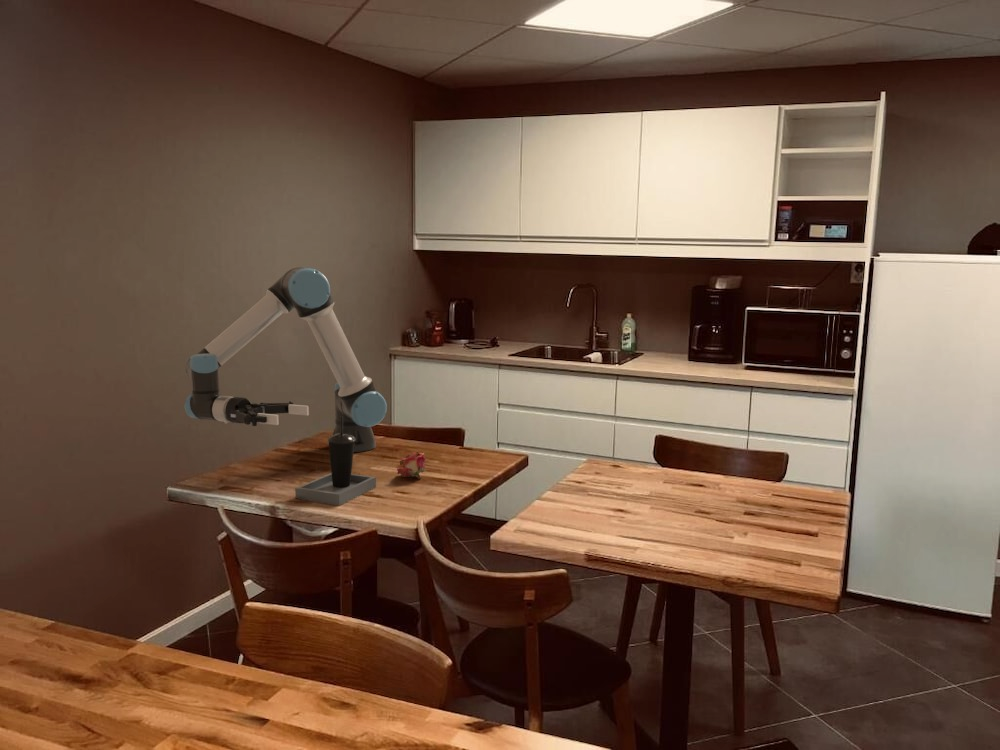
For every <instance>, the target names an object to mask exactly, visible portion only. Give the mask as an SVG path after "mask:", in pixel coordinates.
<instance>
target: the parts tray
mask: <svg viewBox="0 0 1000 750" xmlns="http://www.w3.org/2000/svg"><path fill="white" fill-rule="evenodd" d="M376 477H377V476H371V475H363V474H355V473H351V481H350V486H348V487H344V488H338V487H334V486H333V483H332V472H330V473H328V474H325V475H323V476H320V477H318V478H316V479H314V480H312V481H311V480H310V481H309V482H307V483H303V484H302V485H299V486H297V487H295V488H294V491H295V499H296V498H298V499H297V500H300V499H303V500H302V501H306V500H309V501H308V502H313V501H316V502H315V503H319V502H320V504H326V503H327V504H328V505H331V506H333V505H334V506H341V505H344V504H345V503H347V502H350V501H351V500H353V499H356V498H357V496H358V497H359V496H362V495H364V494H366V493H368V492H369V490H370V491H372V490H374V489H376V488H377V478H376ZM375 487H376V488H375ZM373 488H374V489H373ZM371 489H372V490H371ZM367 491H368V492H367ZM365 492H366V493H365Z"/></svg>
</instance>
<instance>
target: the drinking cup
mask: <svg viewBox="0 0 1000 750" xmlns="http://www.w3.org/2000/svg"><path fill="white" fill-rule="evenodd" d="M355 440H356V438H355V437H354V436H352V435H349V434H346V433H343V416H340V433H338V434H334V435H333V434H331V435H330V436H328V437H327V442H328V448H329V461H330V470H331V472H330V473H332V483H333V486H334V487H338V488H344V487H348V486H350V481H351V474H352V470H353V460H354V459H353V458H354V453H355V452H354V442H355Z"/></svg>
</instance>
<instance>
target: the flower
mask: <svg viewBox="0 0 1000 750" xmlns="http://www.w3.org/2000/svg"><path fill="white" fill-rule="evenodd" d="M424 455H425V452H423V453H422V452H420V453H419V451H413V452H411V454H407V455H406V456H405V457H404V458H401V459H400V460H399V466H401V467H397V469H396V470H397V474H398V475H399V474H400V475H401V476H402V478H409V477H413V476H415V477H417V479H418V480H420V479H422V478H421V476H420V473H422V474H423V473H425V472H426V471H427V468H425V467H426V466H425V461H426V457H425V456H424Z"/></svg>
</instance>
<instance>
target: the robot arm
mask: <svg viewBox="0 0 1000 750" xmlns="http://www.w3.org/2000/svg"><path fill="white" fill-rule="evenodd" d="M334 305H335V299H334V298H333V296H332V294H331V285H330V283H329V280H328V278H327V277H326V276H325V275H324V274H323V273H322V272H321V271H319V270H317V269H315V268H313V267H294V268H291V269H289V270H288V271H286V272H284V274H283V275H281V277H280V278H278V280H277V281H275V282H274V283H273V284H272V285H271V286H270V287H268V288H267V290H266V294H265V295H264V296H263V297H262V298H261V299H260V300H259V301H258V302H256V303H255V304H254V305H253V306H252V307H251V308H249V309H248V310H247V311H245V312H244V313H243V314H242V315H241V316H239V317H238V319H236V320H235V321H234V322H233V323H232V324H230V325H229V326H228V327H227V328H225V330H223V331H222V332H221V333H220V334H219V335H217V336H216V337H215V338H214V339H213V340H212V341H211V342H209V343H208V344H207V345H205V346H204V348H203V349H202V348H201V350H200V351H198V352H197V353H196V354H193V355H191V356H190V357H188V358H187V360H186V362H185V366H184V367H185V371H186V373H187V376H188V377H189V378H190V380H191V389H192V390H191V394H189V395H188V396H187V397H186V399H185V403H184V406H183V407H184V411H185V414H186V415H187V417H189V418H191V419H197V420H199V421H200V420H201V421H214V422H223V423H224V424H225V425H226V424H228V423H232V424H233V423H234V424H244V425H248V426H249V425H251V426H252V427H257V426H258V424H260V425H272V426H278V425H280V423H279V420H280V419H279V418H280V417H279V414H288V415H297V416H309V415H310V409H309V405H303V404H294V402H292V401H288V402H260V403H255V402H254V403H251V402H250V400H249V399H247V398H246V397H239V396H231V395H230V396H229V395H220V384H219V383H220V382H219V381H220V380H219V369H220V367H222V366H224V364H225V363H226V362H227V361H229V360H230V359H231V358H232V357H233V356H235V355H236V354H237V353H238V352H239V351H241V350H242V349H243V348H244V347H245V346H247V345H248V344H249V343H250V342H251V341H252V340H253V339H254V338H256V337H257V336H258V335H259V334H260V333H261V332H262V331H264V330H265V329H266V328H267V327H269V325H271V324H272V323H273V322H274V321H275V320H276V319H278V318H279V317H280V316H281V315H282V314H289V313H290V312H291V311H292V310H294V309H295V311H296V313H297V315H298V317H299V319H301V320H304V321H306V322H307V324H308V326H309V328H310V330H311V332H312V334H313V335H314V338H315V340H316V342H317V344H318V346H319V348H320V350H321V352H322V354H323V356H324V358H325V359H326V362H327V364H328V366H329V368H330V370H331V372H332V374H333V376H334V378H335V380H336V382H335V384H334V390H333V393H334V418H335V419H334V420H335V421H334V423H335V424H334V429H333V432H332V435H334V434H338V433H340V416H343V433H346V434H349V435H352V436H354V437H355V438H356V440H355V442H354V452H353V453H360V452H366V451H371V450H374V449H375V448H376V446H377V445H376V444H377V443H376V438H375V435H374V432H373V429H372V427H374V426H376V425H379V423H381V422H382V421H383V419H384V418H385V416H386V414H387V410H388V405H387V401H386V399H385V398H384V396H383V395H382V394H381V393H380V392H378V389H377V387H376V385H375V383H374V382H373V379H372V377H369V376H366V375H365V374H364V371H363V370H362V368H361V366H360V365H361V364H360V363H359V361H358V359H357V357H356V355H355V353H354V351H353V349H352V347H351V345H350V343H349V341H348V338H347V336H346V334H345V332H344V331H343V327H342V326H341V324H340V322H339V320H338V317H337V316H336V313H335V312H334V310H333V309H334V307H335V306H334Z"/></svg>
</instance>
